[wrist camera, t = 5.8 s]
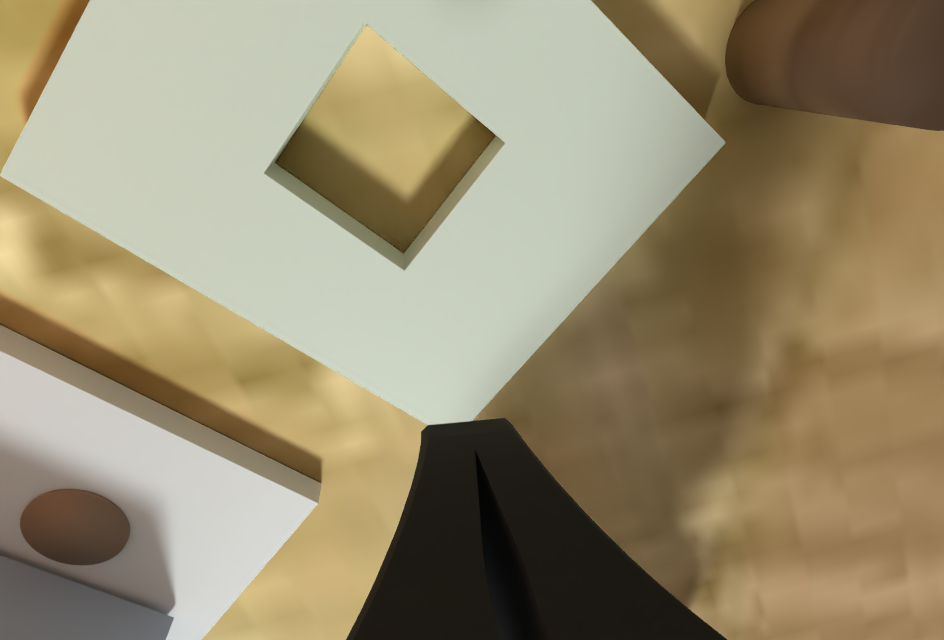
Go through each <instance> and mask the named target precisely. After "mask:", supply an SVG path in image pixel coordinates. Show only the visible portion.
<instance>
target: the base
mask: <svg viewBox="0 0 944 640" xmlns="http://www.w3.org/2000/svg"><path fill="white" fill-rule="evenodd" d="M320 490H321V483H319V482H317V481H315V480H313V479H311V478H309V477H307V476H305V475H303V474H301V473H299V472H297V471H295V470H293V469H291V468H289V467H287V466H285V465H283V464H281V463H279V462H277V461H275V460H272V459H270V458H268V457H266V456H264V455H262V454H260V453H258V452H256V451H254V450H252V449H250V448H248V447H246V446H244V445H242V444H240V443H238V442H236V441H234V440H232V439H230V438H228V437H226V436H224V435H222V434H220V433H218V432H216V431H214V430H212V429H210V428H208V427H206V426H204V425H202V424H200V423H198V422H196V421H194V420H192V419H190V418H188V417H186V416H184V415H182V414H180V413H178V412H176V411H173V410H171V409H169V408H167V407H165V406H163V405H161V404H159V403H157V402H155V401H153V400H151V399H149V398H147V397H145V396H143V395H141V394H139V393H137V392H135V391H133V390H131V389H129V388H127V387H125V386H123V385H121V384H119V383H117V382H115V381H113V380H111V379H109V378H107V377H105V376H103V375H101V374H99V373H97V372H95V371H93V370H91V369H89V368H87V367H85V366H83V365H81V364H79V363H77V362H74V361H72V360H70V359H68V358H66V357H64V356H62V355H60V354H58V353H56V352H54V351H52V350H50V349H48V348H46V347H44V346H42V345H40V344H38V343H36V342H34V341H32V340H30V339H28V338H26V337H24V336H22V335H20V334H18V333H16V332H14V331H12V330H10V329H8V328H6V327H4V326H2V325H0V555H1V556H4V557H7V558H10V559H12V560H15V561H18V562H21V563H24V564H26V565H29V566H32V567H35V568H38V569H40V570H43V571H46V572H49V573H51V574H54V575H57V576H60V577H63V578H65V579H68V580H71V581H74V582H77V583H79V584H82V585H85V586H88V587H90V588H93V589H96V590H99V591H102V592H104V593H107V594H110V595H113V596H116V597H118V598H121V599H124V600H127V601H129V602H132V603H135V604H138V605H141V606H143V607H146V608H149V609H152V610H155V611H157V612H160V613H163V614H166V615H168V616H171V617H174V619H173V622H172V625H171V627H170V630H169V632H168V635H167V638H166V640H202V638H203V637H204V636H205V635H206V634H207V633H208V631H209V630H210V629H211V628H212V627H213V626H214V624H215V623H216V622H217V621H218V620H219V619H220V617H221V616H222V615H223V614H224V613H225V612H226V610H227V609H228V608H229V607H230V606H231V605H232V603H233V602H234V601H235V600H236V599H237V598H238V596H239V595H240V594H241V593H242V592H243V591H244V589H245V588H246V587H247V586H248V585H249V584H250V582H251V581H252V580H253V579H254V578H255V577H256V575H257V574H258V573H259V572H260V571H261V570H262V568H263V567H264V566H265V565H266V564H267V563H268V561H269V560H270V559H271V558H272V557H273V556H274V554H275V553H276V552H277V551H278V550H279V549H280V547H281V546H282V545H283V544H284V543H285V542H286V540H287V539H288V538H289V537H290V536H291V535H292V533H293V532H294V531H295V530H296V529H297V528H298V526H299V525H300V524H301V523H302V522H303V521H304V519H305V518H306V517H307V516H308V515H309V514H310V512H311V511H312V510H313V509H314V508H315V507H316V505H317V504H318V502H319V496H320Z"/></svg>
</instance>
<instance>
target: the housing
mask: <svg viewBox="0 0 944 640" xmlns="http://www.w3.org/2000/svg"><path fill="white" fill-rule="evenodd" d="M173 619H174V617H171V616H168V615H166V614H163V613H160V612H157V611H155V610H152V609H149V608H146V607H143V606H141V605H138V604H135V603H132V602H129V601H127V600H124V599H121V598H118V597H116V596H113V595H110V594H107V593H104V592H102V591H99V590H96V589H93V588H90V587H88V586H85V585H82V584H79V583H77V582H74V581H71V580H68V579H65V578H63V577H60V576H57V575H54V574H51V573H49V572H46V571H43V570H40V569H38V568H35V567H32V566H29V565H26V564H24V563H21V562H18V561H15V560H12V559H10V558H7V557H4V556H1V555H0V640H166V638H167V635H168V632H169V630H170V627H171V625H172V622H173Z"/></svg>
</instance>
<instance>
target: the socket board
mask: <svg viewBox="0 0 944 640" xmlns="http://www.w3.org/2000/svg"><path fill="white" fill-rule="evenodd" d="M366 25H368V26H369V27H370V28H371V29H373V30H374V31H375V32H376V33H377V34H378V35H380V36H381V37H382V38H383V39H384V40H385V41H387V42H388V43H389V44H390V45H391V46H392V47H393V48H395V49H396V50H397V51H398V52H399V53H400V54H402V55H403V56H404V57H405V58H406V59H407V60H409V61H410V62H411V63H412V64H413V65H414V66H416V67H417V68H418V69H419V70H420V71H421V72H423V73H424V74H425V75H426V76H427V77H428V78H430V79H431V80H432V81H433V82H434V83H435V84H437V85H438V86H439V87H440V88H441V89H442V90H444V91H445V92H446V93H447V94H448V95H449V96H451V97H452V98H453V99H454V100H455V101H456V102H458V103H459V104H460V105H461V106H462V107H463V108H465V109H466V110H467V111H468V112H469V113H470V114H472V115H473V116H474V117H475V118H476V119H477V120H479V121H480V122H481V123H482V124H483V125H484V126H486V127H487V128H488V129H489V130H490V131H491V132H493V133H494V134H495V135H496V136H495V137H494V139H493V140H492V141H491V142H490V144H489V145H488V146H487V148H486V149H485V150H484V151H483V153H482V154H481V155H480V157H479V158H478V159H477V160H476V162H475V163H474V164H473V166H472V167H471V168H470V169H469V171H468V172H467V173H466V175H465V176H464V177H463V178H462V180H461V181H460V182H459V183H458V185H457V186H456V187H455V189H454V190H453V191H452V192H451V194H450V195H449V196H448V198H447V199H446V200H445V201H444V203H443V204H442V205H441V207H440V208H439V209H438V210H437V212H436V213H435V214H434V216H433V217H432V218H431V219H430V221H429V222H428V223H427V224H426V226H425V227H424V228H423V230H422V231H421V232H420V233H419V235H418V236H417V237H416V239H415V240H414V241H413V242H412V244H411V245H410V246H409V248H408V249H407V250H406V251H405V253H404V254H403V253H402V252H401V251H399V250H398V249H396V248H395V247H393V246H392V245H391V244H389V243H388V242H386V241H385V240H383V239H382V238H381V237H379V236H378V235H376V234H375V233H374V232H372V231H371V230H369V229H368V228H366V227H365V226H364V225H362V224H361V223H359V222H358V221H357V220H355V219H354V218H352V217H351V216H349V215H348V214H347V213H345V212H344V211H342V210H341V209H339V208H338V207H337V206H335V205H334V204H332V203H331V202H330V201H328V200H327V199H325V198H324V197H322V196H321V195H320V194H318V193H317V192H315V191H314V190H313V189H311V188H310V187H308V186H307V185H305V184H304V183H303V182H301V181H300V180H298V179H297V178H296V177H294V176H293V175H291V174H290V173H288V172H287V171H286V170H284V169H283V168H281V167H280V166H278V165H277V164H276V163H275V161H276V160H277V158H278V157H279V155H280V154H281V152H282V151H283V149H284V148H285V146H286V145H287V143H288V142H289V140H290V139H291V137H292V136H293V134H294V133H295V131H296V130H297V128H298V127H299V125H300V124H301V122H302V121H303V119H304V118H305V116H306V115H307V113H308V112H309V110H310V109H311V107H312V106H313V104H314V103H315V101H316V100H317V98H318V97H319V95H320V94H321V92H322V91H323V89H324V88H325V86H326V85H327V83H328V82H329V80H330V79H331V77H332V76H333V74H334V73H335V71H336V70H337V68H338V67H339V65H340V64H341V63H342V61H343V60H344V58H345V57H346V55H347V54H348V52H349V51H350V49H351V48H352V46H353V45H354V43H355V42H356V40H357V39H358V37H359V36H360V34H361V33H362V31H363V30H364V28H365V27H366ZM725 143H726V142H725V141H724V140H723V139H722V138H721V137H720V136H719V135H718V134H717V133H716V132H715V131H714V129H713V128H712V127H711V126H710V125H709V124H708V123H707V122H706V121H705V120H704V119H703V118H702V117H701V116H700V115H699V114H698V113H697V112H696V110H695V109H694V108H693V107H692V106H691V105H690V104H689V103H688V102H687V101H686V100H685V99H684V98H683V97H682V96H681V95H680V94H679V93H678V92H677V90H676V89H675V88H674V87H673V86H672V85H671V84H670V83H669V82H668V81H667V80H666V79H665V78H664V77H663V76H662V75H661V74H660V73H659V71H658V70H657V69H656V68H655V67H654V66H653V65H652V64H651V63H650V62H649V61H648V60H647V59H646V58H645V57H644V56H643V55H642V54H641V53H640V51H639V50H638V49H637V48H636V47H635V46H634V45H633V44H632V43H631V42H630V41H629V40H628V39H627V38H626V37H625V36H624V35H623V34H622V32H621V31H620V30H619V29H618V28H617V27H616V26H615V25H614V24H613V23H612V22H611V21H610V20H609V19H608V18H607V17H606V16H605V15H604V14H603V12H602V11H601V10H600V9H599V8H598V7H597V6H596V5H595V4H594V3H593V2H592V1H591V0H90V1H89V3H88V5H87V7H86V9H85V11H84V13H83V15H82V17H81V18H80V20H79V22H78V24H77V26H76V28H75V30H74V32H73V34H72V36H71V38H70V40H69V42H68V44H67V46H66V48H65V50H64V51H63V53H62V55H61V57H60V59H59V61H58V63H57V65H56V67H55V69H54V71H53V73H52V75H51V77H50V79H49V81H48V83H47V84H46V86H45V88H44V90H43V92H42V94H41V96H40V98H39V100H38V102H37V104H36V106H35V108H34V110H33V112H32V114H31V116H30V117H29V119H28V121H27V123H26V125H25V127H24V129H23V131H22V133H21V135H20V137H19V139H18V141H17V143H16V145H15V147H14V149H13V150H12V152H11V154H10V156H9V158H8V160H7V162H6V164H5V166H4V168H3V170H2V172H1V174H0V176H1V177H3V178H5V179H6V180H8V181H10V182H11V183H13V184H15V185H17V186H18V187H20V188H22V189H23V190H25V191H27V192H29V193H30V194H32V195H34V196H35V197H37V198H39V199H41V200H42V201H44V202H46V203H47V204H49V205H51V206H53V207H54V208H56V209H58V210H59V211H61V212H63V213H65V214H66V215H68V216H70V217H71V218H73V219H75V220H77V221H78V222H80V223H82V224H83V225H85V226H87V227H89V228H90V229H92V230H94V231H96V232H97V233H99V234H101V235H102V236H104V237H106V238H108V239H109V240H111V241H113V242H114V243H116V244H118V245H120V246H121V247H123V248H125V249H126V250H128V251H130V252H132V253H133V254H135V255H137V256H138V257H140V258H142V259H144V260H145V261H147V262H149V263H150V264H152V265H154V266H156V267H157V268H159V269H161V270H162V271H164V272H166V273H168V274H169V275H171V276H173V277H174V278H176V279H178V280H180V281H181V282H183V283H185V284H186V285H188V286H190V287H192V288H193V289H195V290H197V291H198V292H200V293H202V294H204V295H205V296H207V297H209V298H210V299H212V300H214V301H216V302H217V303H219V304H221V305H222V306H224V307H226V308H228V309H229V310H231V311H233V312H234V313H236V314H238V315H240V316H241V317H243V318H245V319H246V320H248V321H250V322H252V323H253V324H255V325H257V326H259V327H260V328H262V329H264V330H265V331H267V332H269V333H271V334H272V335H274V336H276V337H277V338H279V339H281V340H283V341H284V342H286V343H288V344H289V345H291V346H293V347H295V348H296V349H298V350H300V351H301V352H303V353H305V354H307V355H308V356H310V357H312V358H313V359H315V360H317V361H319V362H320V363H322V364H324V365H325V366H327V367H329V368H331V369H332V370H334V371H336V372H337V373H339V374H341V375H343V376H344V377H346V378H348V379H349V380H351V381H353V382H355V383H356V384H358V385H360V386H361V387H363V388H365V389H367V390H368V391H370V392H372V393H373V394H375V395H377V396H379V397H380V398H382V399H384V400H385V401H387V402H389V403H391V404H392V405H394V406H396V407H397V408H399V409H401V410H403V411H404V412H406V413H408V414H410V415H411V416H413V417H415V418H416V419H418V420H420V421H422V422H423V423H425V424H427V425H434V424H445V423H456V422H468V421H472V420H473V419H474V418H475V417H476V416H477V415H478V414H479V413H480V412H481V410H482V409H483V408H484V407H485V406H486V405H487V404H488V403H489V402H490V401H491V400H492V398H493V397H494V396H495V395H496V394H497V393H498V392H499V391H500V390H501V389H502V387H503V386H504V385H505V384H506V383H507V382H508V381H509V380H510V379H511V378H512V376H513V375H514V374H515V373H516V372H517V371H518V370H519V369H520V368H521V367H522V366H523V364H524V363H525V362H526V361H527V360H528V359H529V358H530V357H531V356H532V355H533V353H534V352H535V351H536V350H537V349H538V348H539V347H540V346H541V345H542V344H543V342H544V341H545V340H546V339H547V338H548V337H549V336H550V335H551V334H552V333H553V332H554V330H555V329H556V328H557V327H558V326H559V325H560V324H561V323H562V322H563V321H564V319H565V318H566V317H567V316H568V315H569V314H570V313H571V312H572V311H573V310H574V309H575V307H576V306H577V305H578V304H579V303H580V302H581V301H582V300H583V299H584V298H585V296H586V295H587V294H588V293H589V292H590V291H591V290H592V289H593V288H594V287H595V285H596V284H597V283H598V282H599V281H600V280H601V279H602V278H603V277H604V276H605V275H606V273H607V272H608V271H609V270H610V269H611V268H612V267H613V266H614V265H615V264H616V262H617V261H618V260H619V259H620V258H621V257H622V256H623V255H624V254H625V253H626V251H627V250H628V249H629V248H630V247H631V246H632V245H633V244H634V243H635V242H636V241H637V239H638V238H639V237H640V236H641V235H642V234H643V233H644V232H645V231H646V230H647V228H648V227H649V226H650V225H651V224H652V223H653V222H654V221H655V220H656V219H657V218H658V216H659V215H660V214H661V213H662V212H663V211H664V210H665V209H666V208H667V207H668V205H669V204H670V203H671V202H672V201H673V200H674V199H675V198H676V197H677V196H678V194H679V193H680V192H681V191H682V190H683V189H684V188H685V187H686V186H687V185H688V184H689V182H690V181H691V180H692V179H693V178H694V177H695V176H696V175H697V174H698V173H699V171H700V170H701V169H702V168H703V167H704V166H705V165H706V164H707V163H708V162H709V160H710V159H711V158H712V157H713V156H714V155H715V154H716V153H717V152H718V151H719V150H720V148H721V147H722V146H723V145H724V144H725Z"/></svg>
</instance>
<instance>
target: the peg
mask: <svg viewBox="0 0 944 640" xmlns="http://www.w3.org/2000/svg"><path fill="white" fill-rule="evenodd" d="M725 63H726V71H727V76H728V79H729V81H730V83H731V85H732V87H733V89H734V90H735V91H736V93H737V94H738V95H739V96H741V97H742V98H743V99H745V100H746V101H749V102H751V103H754V104H759V105H765V106H772V107H779V108H786V109H792V110H799V111H806V112H812V113H819V114H826V115H832V116H839V117H846V118H853V119H859V120H866V121H873V122H879V123H886V124H893V125H899V126H906V127H913V128H920V129H926V130H935V131H942V130H944V0H755V1H754V2H753V3H751V4H750V5H749V6H748V7H747V8H746V9H745V10H744V12H743V13H742V14H741V16H740V17H739V19H738V20H737V22H736V23H735V25H734V27H733V29H732V32H731V34H730V37H729V40H728V44H727V49H726V60H725Z"/></svg>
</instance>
